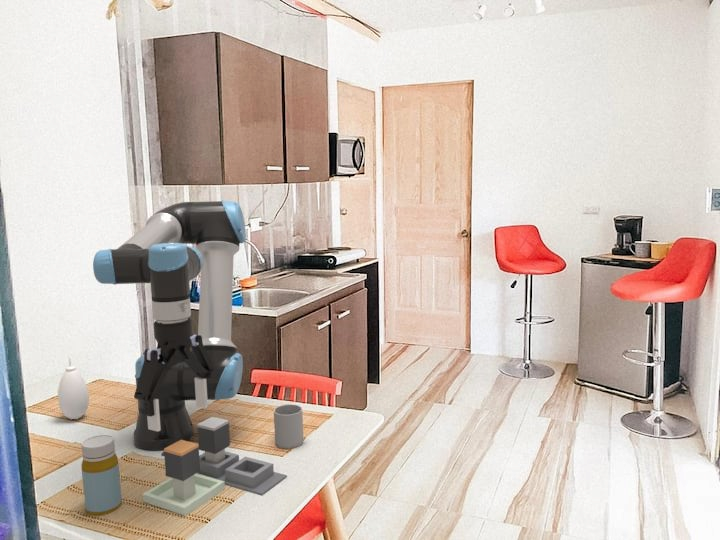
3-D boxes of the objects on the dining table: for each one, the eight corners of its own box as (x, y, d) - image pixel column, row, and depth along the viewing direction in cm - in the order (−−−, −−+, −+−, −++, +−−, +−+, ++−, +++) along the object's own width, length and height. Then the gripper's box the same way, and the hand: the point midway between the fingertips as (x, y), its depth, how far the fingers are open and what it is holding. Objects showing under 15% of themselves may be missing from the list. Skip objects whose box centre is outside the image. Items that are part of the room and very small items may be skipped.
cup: (284, 451, 155) (283, 417, 154) (264, 438, 163) (262, 406, 161) (309, 443, 159) (307, 410, 158) (288, 431, 167) (286, 399, 166)
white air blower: (96, 414, 182) (90, 354, 179) (79, 424, 174) (73, 362, 171) (71, 412, 183) (65, 353, 180) (54, 423, 175) (48, 361, 173)
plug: (167, 497, 133) (163, 448, 131) (184, 487, 137) (181, 439, 136) (184, 503, 131) (181, 453, 129) (201, 492, 135) (198, 444, 133)
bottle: (92, 500, 134) (86, 434, 131) (126, 498, 134) (120, 433, 132) (81, 518, 127) (74, 449, 124) (116, 516, 127) (110, 447, 125)
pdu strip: (149, 464, 150) (145, 416, 148) (176, 449, 157) (173, 403, 156) (262, 497, 133) (259, 444, 131) (287, 479, 141) (284, 428, 139)
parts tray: (143, 504, 132) (142, 494, 131) (184, 479, 142) (183, 469, 142) (185, 518, 126) (184, 508, 126) (225, 491, 136) (224, 481, 136)
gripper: (137, 335, 115) (145, 444, 118) (227, 308, 137) (232, 401, 140) (109, 331, 119) (118, 436, 122) (201, 305, 140) (207, 395, 144)
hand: (179, 418), depth 131 cm, fingers open, 13 cm apart
